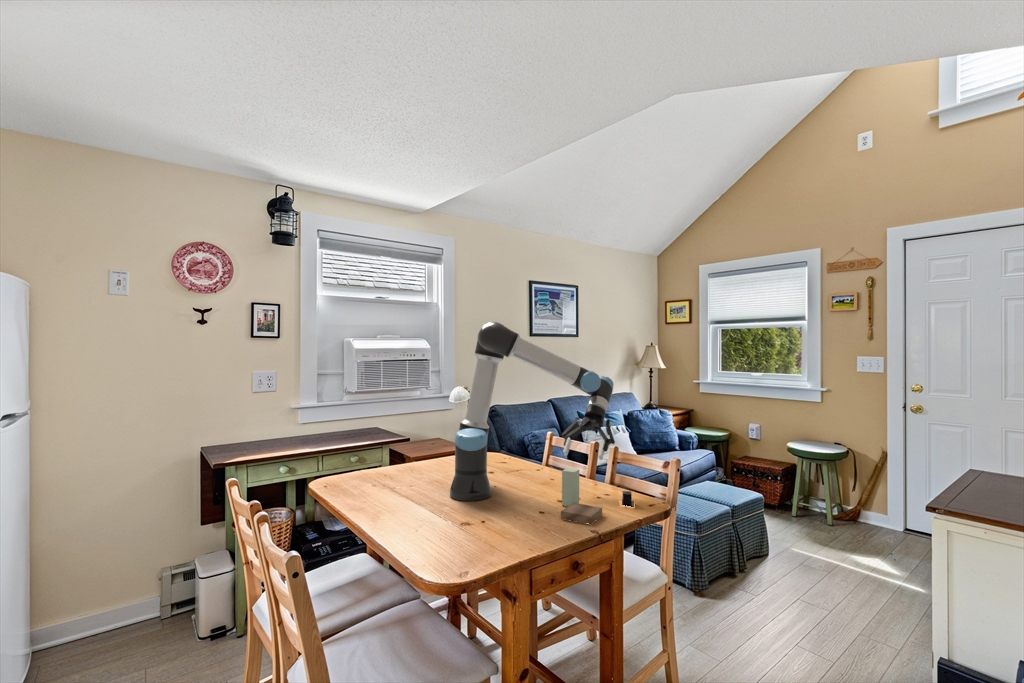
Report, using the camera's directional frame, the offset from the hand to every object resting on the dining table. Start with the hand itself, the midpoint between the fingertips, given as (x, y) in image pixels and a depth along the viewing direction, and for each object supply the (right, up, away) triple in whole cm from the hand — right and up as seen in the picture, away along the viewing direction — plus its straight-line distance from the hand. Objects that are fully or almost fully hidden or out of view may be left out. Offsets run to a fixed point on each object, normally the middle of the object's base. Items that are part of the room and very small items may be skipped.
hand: (582, 455), depth 179 cm
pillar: (-5, -15, -10) cm, 18 cm away
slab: (-3, -15, -22) cm, 27 cm away
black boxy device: (+14, -16, -8) cm, 23 cm away
